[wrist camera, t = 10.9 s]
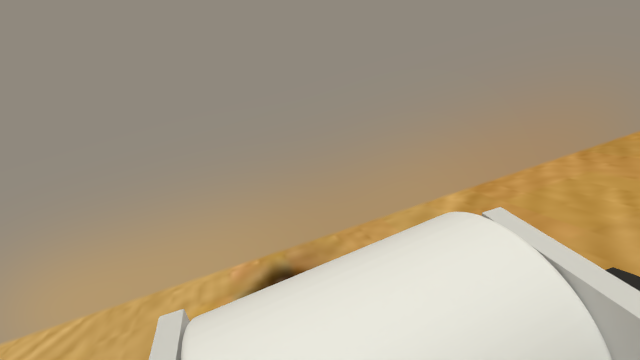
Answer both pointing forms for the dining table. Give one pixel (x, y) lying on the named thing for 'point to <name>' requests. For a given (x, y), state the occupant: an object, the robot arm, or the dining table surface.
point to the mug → (411, 304)
